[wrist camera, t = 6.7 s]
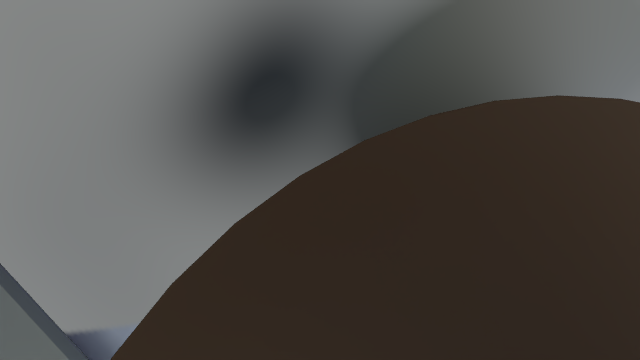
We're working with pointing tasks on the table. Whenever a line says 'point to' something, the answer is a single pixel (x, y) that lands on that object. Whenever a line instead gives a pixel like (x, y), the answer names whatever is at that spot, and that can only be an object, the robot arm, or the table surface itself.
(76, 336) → the table surface
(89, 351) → the table surface
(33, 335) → the slate trivet
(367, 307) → the walnut canister
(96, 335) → the table surface
